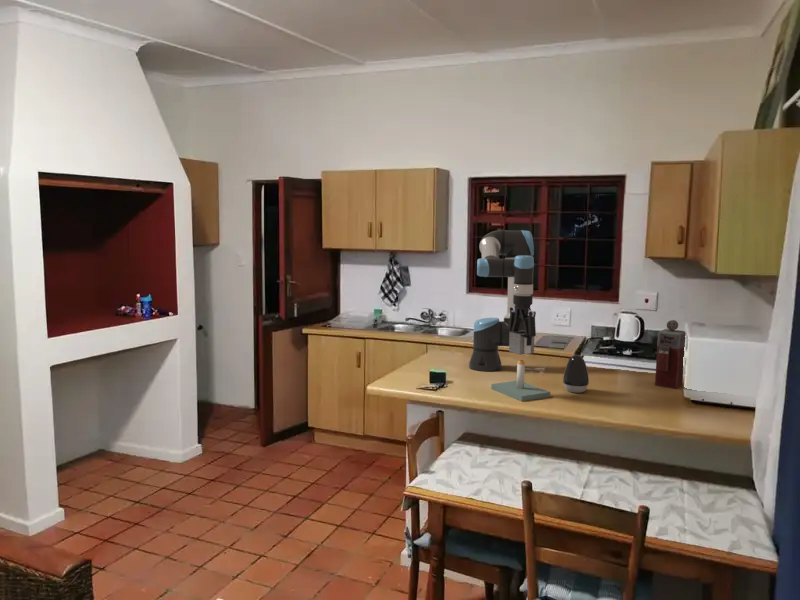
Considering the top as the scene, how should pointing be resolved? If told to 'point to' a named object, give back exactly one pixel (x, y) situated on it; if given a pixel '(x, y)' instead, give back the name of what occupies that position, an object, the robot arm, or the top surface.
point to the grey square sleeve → (518, 342)
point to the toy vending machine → (670, 356)
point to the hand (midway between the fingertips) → (521, 351)
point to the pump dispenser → (576, 375)
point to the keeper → (520, 387)
